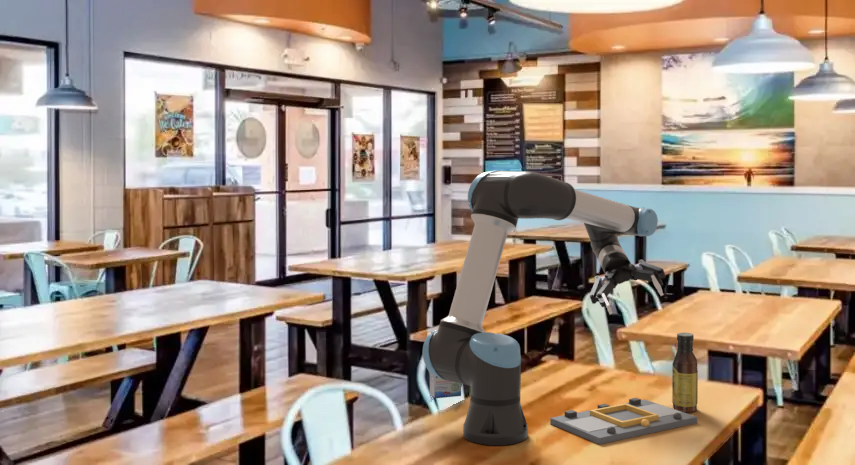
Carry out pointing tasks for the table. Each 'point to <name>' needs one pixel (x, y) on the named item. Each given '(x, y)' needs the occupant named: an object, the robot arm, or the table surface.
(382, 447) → the table surface
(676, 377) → the sauce bottle
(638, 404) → the grey fixture plate
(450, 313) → the robot arm
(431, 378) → the medicine box
